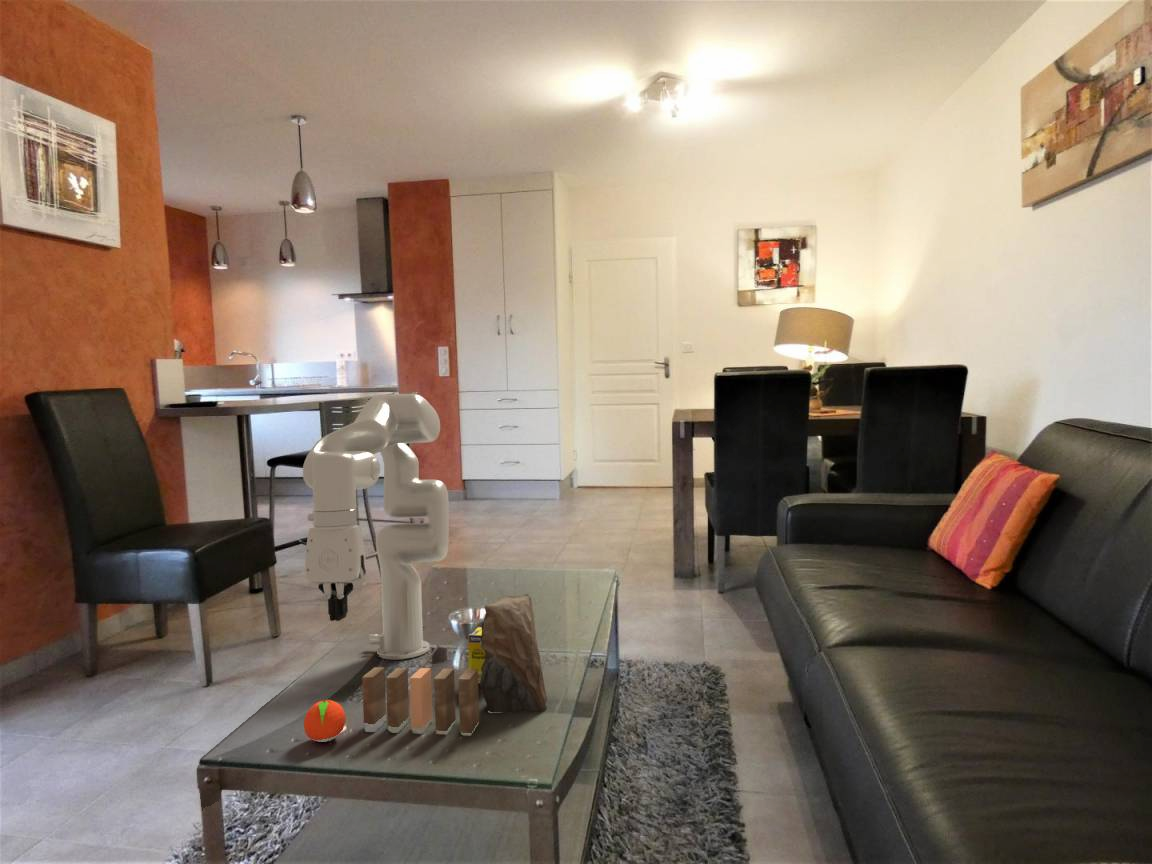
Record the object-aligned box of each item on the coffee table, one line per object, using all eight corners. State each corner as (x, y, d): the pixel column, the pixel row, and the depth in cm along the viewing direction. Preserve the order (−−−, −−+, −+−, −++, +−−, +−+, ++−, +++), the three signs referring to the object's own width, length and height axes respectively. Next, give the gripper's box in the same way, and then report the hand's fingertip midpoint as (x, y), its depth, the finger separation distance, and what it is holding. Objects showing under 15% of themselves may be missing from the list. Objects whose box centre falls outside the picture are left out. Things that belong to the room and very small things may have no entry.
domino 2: (387, 733, 119) (385, 677, 119) (399, 721, 124) (397, 667, 124) (398, 733, 118) (396, 677, 119) (409, 721, 123) (407, 667, 123)
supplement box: (496, 688, 139) (494, 635, 139) (468, 686, 140) (467, 634, 140) (504, 677, 144) (503, 627, 144) (478, 676, 146) (477, 626, 146)
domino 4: (435, 735, 117) (433, 678, 118) (445, 722, 122) (443, 668, 122) (446, 735, 117) (444, 678, 117) (455, 723, 122) (454, 668, 122)
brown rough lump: (480, 715, 125) (477, 609, 125) (483, 690, 138) (480, 593, 138) (547, 710, 126) (543, 605, 126) (544, 685, 139) (541, 590, 139)
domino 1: (364, 732, 119) (362, 677, 119) (376, 720, 124) (374, 667, 124) (374, 732, 119) (372, 677, 119) (386, 720, 124) (384, 667, 124)
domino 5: (460, 735, 117) (458, 679, 117) (468, 723, 122) (467, 669, 122) (471, 736, 117) (469, 679, 117) (479, 723, 121) (477, 669, 122)
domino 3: (432, 722, 123) (430, 668, 123) (422, 734, 118) (420, 678, 118) (422, 721, 123) (420, 668, 123) (411, 734, 118) (409, 677, 118)
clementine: (344, 749, 113) (343, 707, 113) (301, 756, 111) (299, 713, 111) (347, 729, 121) (346, 690, 121) (306, 735, 119) (305, 696, 119)
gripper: (286, 522, 120) (289, 624, 120) (364, 521, 118) (367, 624, 118) (309, 517, 128) (311, 613, 127) (382, 516, 125) (385, 613, 125)
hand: (338, 618), depth 122 cm, fingers closed
